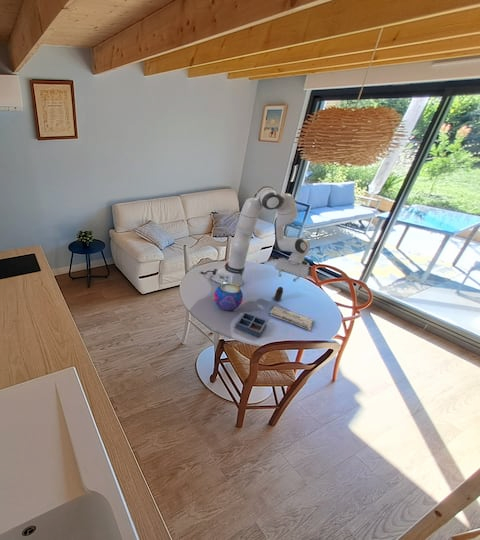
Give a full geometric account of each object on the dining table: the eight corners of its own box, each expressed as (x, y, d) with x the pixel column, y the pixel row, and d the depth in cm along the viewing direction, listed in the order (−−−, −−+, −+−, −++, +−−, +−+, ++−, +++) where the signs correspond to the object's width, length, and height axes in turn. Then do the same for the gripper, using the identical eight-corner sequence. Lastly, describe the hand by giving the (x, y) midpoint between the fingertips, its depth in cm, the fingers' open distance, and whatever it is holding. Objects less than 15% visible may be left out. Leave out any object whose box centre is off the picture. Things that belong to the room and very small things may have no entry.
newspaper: (268, 315, 179) (269, 312, 178) (274, 308, 187) (275, 305, 186) (309, 331, 165) (310, 328, 164) (313, 323, 174) (314, 319, 173)
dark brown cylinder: (273, 299, 194) (277, 287, 189) (274, 296, 197) (278, 284, 192) (279, 301, 192) (283, 289, 187) (281, 298, 194) (285, 286, 189)
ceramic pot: (239, 301, 192) (244, 282, 185) (240, 317, 178) (245, 297, 170) (213, 296, 197) (216, 278, 190) (211, 312, 183) (215, 292, 175)
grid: (235, 327, 169) (236, 323, 168) (243, 316, 178) (244, 312, 177) (258, 337, 162) (260, 332, 160) (265, 325, 171) (267, 320, 169)
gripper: (279, 254, 199) (270, 272, 198) (311, 264, 187) (303, 282, 185) (279, 258, 204) (271, 275, 203) (311, 267, 191) (302, 285, 190)
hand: (286, 278), depth 194 cm, fingers open, 8 cm apart
